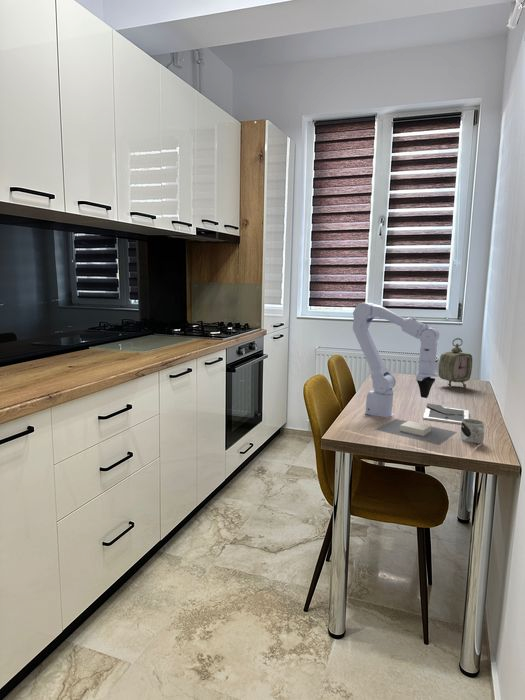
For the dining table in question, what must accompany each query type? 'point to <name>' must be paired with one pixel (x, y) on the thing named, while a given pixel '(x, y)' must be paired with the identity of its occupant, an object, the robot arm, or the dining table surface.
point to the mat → (433, 436)
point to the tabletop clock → (455, 365)
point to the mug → (472, 431)
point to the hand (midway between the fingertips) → (424, 397)
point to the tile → (415, 428)
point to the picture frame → (445, 414)
